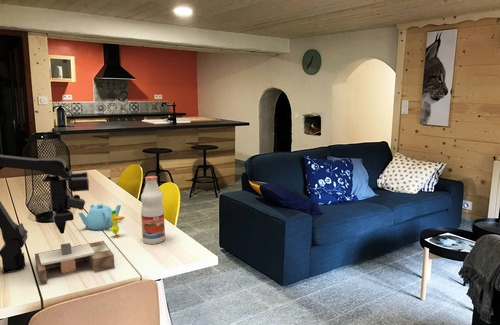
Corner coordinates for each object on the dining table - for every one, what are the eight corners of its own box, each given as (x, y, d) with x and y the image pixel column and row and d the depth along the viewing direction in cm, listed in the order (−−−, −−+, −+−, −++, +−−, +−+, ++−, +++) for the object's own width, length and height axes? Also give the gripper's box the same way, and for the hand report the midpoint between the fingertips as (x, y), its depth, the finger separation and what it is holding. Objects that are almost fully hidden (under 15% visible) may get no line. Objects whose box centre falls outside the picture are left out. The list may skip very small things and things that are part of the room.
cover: (41, 265, 131) (40, 255, 131) (38, 255, 139) (37, 245, 139) (94, 254, 141) (93, 244, 140) (89, 245, 148) (88, 236, 148)
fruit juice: (162, 235, 174) (160, 173, 169) (167, 242, 166) (164, 178, 161) (140, 238, 170) (137, 175, 165) (144, 246, 162) (141, 180, 157)
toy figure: (124, 233, 176) (123, 208, 173) (126, 236, 172) (124, 210, 170) (108, 236, 172) (107, 210, 170) (110, 239, 169) (108, 212, 167)
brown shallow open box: (40, 285, 129) (38, 270, 128) (36, 266, 142) (34, 253, 142) (114, 267, 142) (113, 254, 141) (104, 252, 155) (103, 240, 154)
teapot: (77, 231, 178) (75, 208, 177) (92, 220, 193) (90, 199, 191) (110, 232, 178) (108, 209, 176) (122, 221, 192) (121, 200, 190)
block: (61, 273, 138) (60, 261, 137) (60, 268, 142) (59, 256, 141) (75, 270, 140) (74, 258, 139) (73, 265, 144) (72, 254, 143)
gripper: (87, 195, 138) (90, 237, 141) (78, 184, 154) (80, 222, 157) (52, 199, 132) (56, 243, 135) (46, 188, 148) (50, 227, 151)
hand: (62, 233), depth 145 cm, fingers closed
